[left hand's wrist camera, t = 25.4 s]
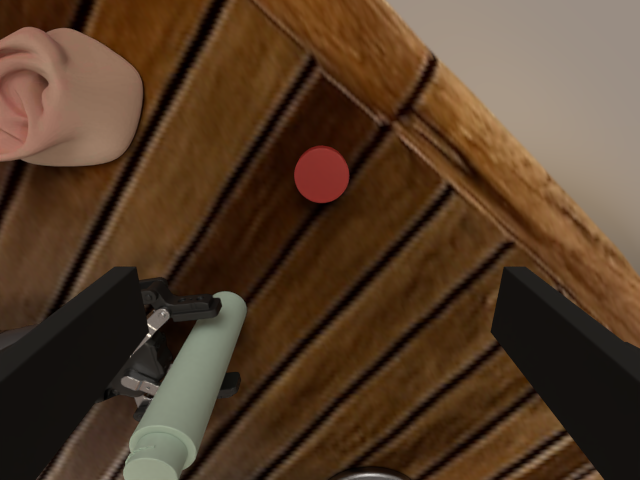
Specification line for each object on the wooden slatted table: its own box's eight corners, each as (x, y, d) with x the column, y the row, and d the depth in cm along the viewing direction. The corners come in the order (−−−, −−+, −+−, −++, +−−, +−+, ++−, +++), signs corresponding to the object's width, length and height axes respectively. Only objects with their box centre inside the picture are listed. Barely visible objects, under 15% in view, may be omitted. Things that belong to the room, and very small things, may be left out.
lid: (355, 185, 33) (357, 190, 31) (308, 205, 34) (307, 210, 32) (336, 136, 31) (337, 139, 29) (287, 158, 32) (285, 161, 30)
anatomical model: (114, 30, 25) (125, 189, 29) (141, 40, 28) (147, 179, 32) (-82, 0, 24) (-42, 166, 28) (-28, 13, 28) (0, 159, 32)
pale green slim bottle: (199, 302, 38) (98, 468, 21) (231, 284, 37) (154, 442, 20) (223, 330, 39) (146, 508, 22) (254, 314, 38) (201, 485, 21)
